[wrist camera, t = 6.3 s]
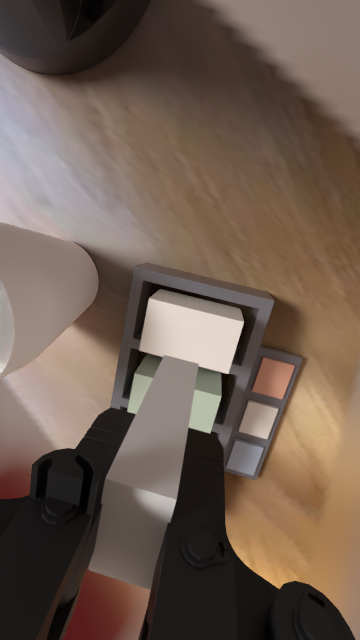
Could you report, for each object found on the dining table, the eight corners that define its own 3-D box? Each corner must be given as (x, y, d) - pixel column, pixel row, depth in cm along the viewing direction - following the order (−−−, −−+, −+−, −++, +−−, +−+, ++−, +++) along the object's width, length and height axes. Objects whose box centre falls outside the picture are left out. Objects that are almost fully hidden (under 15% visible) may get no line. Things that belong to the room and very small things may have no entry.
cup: (124, 243, 23) (32, 248, 12) (99, 341, 26) (5, 422, 14) (22, 208, 24) (-165, 180, 12) (8, 308, 26) (-155, 362, 15)
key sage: (147, 353, 23) (134, 373, 19) (221, 372, 22) (221, 396, 19) (139, 392, 24) (125, 417, 20) (209, 411, 23) (208, 440, 20)
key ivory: (160, 288, 21) (148, 298, 18) (240, 308, 21) (244, 322, 17) (151, 333, 22) (138, 350, 19) (226, 353, 22) (228, 374, 18)
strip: (258, 344, 24) (259, 348, 23) (300, 355, 24) (303, 359, 23) (219, 465, 28) (219, 472, 27) (255, 475, 28) (256, 482, 27)
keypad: (146, 262, 23) (134, 266, 20) (266, 291, 23) (274, 300, 19) (108, 470, 30) (94, 499, 27) (201, 497, 29) (198, 530, 26)
